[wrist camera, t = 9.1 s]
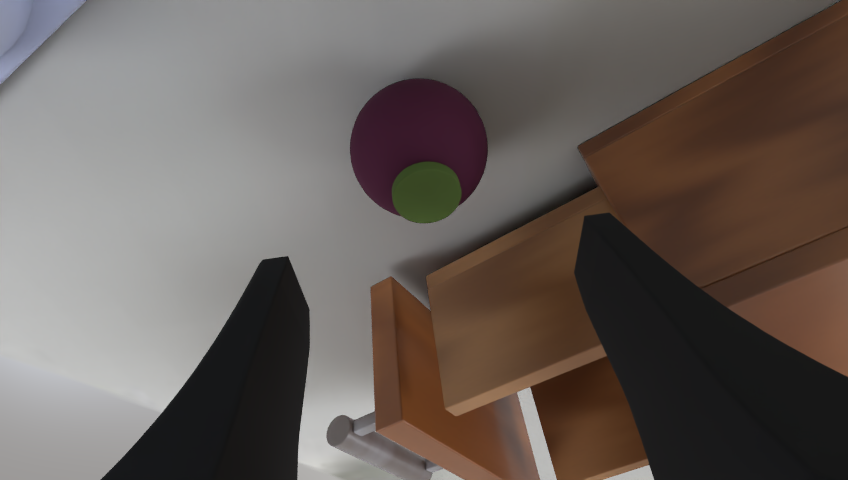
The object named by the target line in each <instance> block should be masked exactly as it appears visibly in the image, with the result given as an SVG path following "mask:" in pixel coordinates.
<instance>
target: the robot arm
mask: <svg viewBox="0 0 848 480" xmlns="http://www.w3.org/2000/svg"><path fill="white" fill-rule="evenodd" d="M85 1H86V0H0V85H1V84H2V83H3V82H4V81H5V80H6V79H7V78H8V77H9V76H10V75H11V74H12V73H13V72H14V71H15V70H16V69H17V68H18V67H19V66H20V65H21V64H22V63H23V62H24V61H25V60H26V59H27V58H28V57H29V56H30V55H31V54H32V53H33V52H34V51H35V50H36V49H37V48H38V47H39V46H40V45H41V44H42V43H43V42H44V41H45V40H46V39H47V38H49V37H50V36H51V35H52V34H53V33H54V32H55V31H56V30H57V29H58V28H59V27H60V26H61V25H62V24H63V23H64V22H65V21H66V20H67V19H68V18H69V17H70V16H71V15H72V14H73V13H74V12H75V11H76V10H77V9H78V8H79V7H80V6H81V5H82V4H83V3H84V2H85ZM574 275H575V278H576V281H577V285H578V288H579V291H580V294H581V297H582V300H583V303H584V306H585V309H586V312H587V314H588V316H589V318H590V320H591V323H592V325H593V327H594V329H595V331H596V333H597V336H598V338H599V340H600V342H601V344H602V346H603V348H604V351H605V353H606V355H607V357H608V359H609V361H610V363H611V365H612V368H613V370H614V372H615V374H616V376H617V378H618V380H619V382H620V385H621V387H622V389H623V391H624V394H625V396H626V399H627V401H628V403H629V406H630V409H631V412H632V415H633V418H634V420H635V423H636V426H637V429H638V432H639V435H640V438H641V440H642V443H643V446H644V450H645V453H646V456H647V459H648V462H649V465H650V468H651V471H652V474H653V477H654V480H848V377H847V376H845V375H843V374H841V373H839V372H837V371H835V370H833V369H831V368H829V367H827V366H825V365H823V364H821V363H819V362H818V361H816V360H814V359H812V358H810V357H808V356H807V355H805V354H803V353H801V352H799V351H797V350H796V349H794V348H792V347H790V346H788V345H787V344H785V343H783V342H781V341H780V340H778V339H776V338H774V337H773V336H771V335H769V334H768V333H766V332H764V331H763V330H761V329H760V328H758V327H756V326H755V325H753V324H752V323H750V322H749V321H747V320H745V319H744V318H742V317H741V316H739V315H738V314H736V313H734V312H733V311H732V310H730V309H729V308H727V307H726V306H724V305H723V304H721V303H720V302H718V301H717V300H716V299H714V298H713V297H712V296H710V295H709V294H707V293H706V292H705V291H703V290H702V289H701V288H699V287H698V286H696V285H695V284H694V283H693V282H691V281H690V280H689V279H687V278H686V277H685V276H684V275H682V274H681V273H680V272H679V271H677V270H676V269H675V268H674V267H672V266H671V265H670V264H669V263H667V262H666V261H665V260H664V259H663V258H661V257H660V256H659V255H658V254H657V253H655V252H654V251H653V250H652V249H651V248H650V247H648V246H647V245H646V244H645V243H644V242H643V241H642V240H640V239H639V238H638V237H637V236H636V235H635V234H634V233H632V232H631V231H630V230H629V229H628V228H627V227H626V226H624V225H623V224H622V223H621V222H620V221H619V220H617V219H616V218H615V217H614V216H613V215H612V214H611V213H602V214H594V215H587V216H584V220H583V226H582V231H581V237H580V242H579V248H578V253H577V259H576V264H575V269H574ZM309 348H310V320H309V307H308V305H307V302H306V300H305V297H304V295H303V292H302V290H301V287H300V285H299V282H298V280H297V277H296V275H295V272H294V270H293V267H292V265H291V263H290V260H289V258H288V256H287V257H279V258H272V259H265V260H262V261H261V263H260V264H259V266H258V268H257V269H256V271H255V273H254V275H253V277H252V279H251V280H250V282H249V284H248V286H247V288H246V289H245V291H244V293H243V295H242V297H241V298H240V300H239V302H238V303H237V305H236V307H235V309H234V310H233V312H232V314H231V315H230V317H229V319H228V320H227V322H226V323H225V325H224V327H223V328H222V330H221V332H220V333H219V335H218V337H217V338H216V340H215V341H214V343H213V344H212V346H211V347H210V349H209V350H208V352H207V353H206V354H205V356H204V357H203V359H202V360H201V362H200V363H199V365H198V366H197V368H196V369H195V371H194V372H193V373H192V375H191V376H190V378H189V379H188V380H187V382H186V383H185V384H184V386H183V387H182V388H181V390H180V391H179V392H178V394H177V395H176V396H175V397H174V399H173V400H172V401H171V402H170V404H169V405H168V406H167V407H166V409H165V410H164V411H163V412H162V414H161V415H160V416H159V417H158V418H157V419H156V421H155V422H154V423H153V424H152V425H151V426H150V428H149V429H148V430H147V431H146V432H145V433H144V435H143V436H142V437H141V438H140V439H139V440H138V441H137V443H136V444H135V445H134V446H133V447H132V448H131V449H130V450H129V451H128V452H127V453H126V454H125V456H124V457H123V458H122V459H121V460H120V461H119V462H118V463H117V464H116V465H115V466H114V467H113V468H112V469H111V470H110V471H109V472H108V473H107V474H106V475H105V476H104V477H103V478H102V479H101V480H297V467H298V443H299V431H300V423H301V415H302V407H303V399H304V391H305V383H306V374H307V366H308V357H309Z"/></svg>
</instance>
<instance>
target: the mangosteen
mask: <svg viewBox="0 0 848 480" xmlns="http://www.w3.org/2000/svg"><path fill="white" fill-rule="evenodd" d="M350 154H351V163H352V167H353V170H354V173H355V176H356V178H357V180H358V182H359V184H360V185H361V187H362V188H363V190H364V191H365V193H366V194H367V195H368V196H369V197H370V198H371V199H372V200H373V201H374V202H375V203H376V204H378V205H379V206H380V207H382V208H383V209H385V210H387V211H389V212H391V213H393V214H396V215H399V216H402V217H404V218H405V219H407V220H409V221H412V222H416V223H432V222H436V221H439V220H442V219H444V218H446V217H447V216H449V215H450V214H451V213H452V212H453V211H454V210H455V209H456V208H457V207H458V206H459V205H460V204H462V203H463V202H464V201H465V200H466V199H467V198H468V197H469V196H470V195H471V194H472V193H473V191H474V190H475V189H476V187H477V185H478V184H479V182H480V180H481V178H482V175H483V173H484V170H485V166H486V162H487V155H488V143H487V136H486V131H485V127H484V125H483V122H482V120H481V118H480V116H479V114H478V112H477V110H476V109H475V107H474V106H473V105H472V104H471V102H470V101H469V100H468V99H467V98H466V97H465V96H464V95H463V94H461V93H460V92H459V91H457V90H456V89H454V88H452V87H450V86H448V85H447V84H444V83H441V82H439V81H435V80H430V79H409V80H403V81H400V82H396V83H394V84H391V85H389V86H387V87H385V88H384V89H382V90H380V91H379V92H378V93H376V94H375V95H374V96H373V97H372V98H371V99H370V100H369V101H368V102H367V103H366V104H365V106H364V107H363V108H362V110H361V111H360V113H359V115H358V117H357V119H356V121H355V124H354V127H353V130H352V135H351V141H350Z"/></svg>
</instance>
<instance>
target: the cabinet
mask: <svg viewBox="0 0 848 480" xmlns="http://www.w3.org/2000/svg"><path fill="white" fill-rule="evenodd" d="M578 149H579V151H580V153H581V155H582V157H583V159H584V161H585V163H586V165H587V167H588V169H589V171H590V173H591V175H592V176H593V178H594V180H595V182H596V184H597V186H598V187H599V186H600V188H601V189H602V191H603V193H604V195H605V196H606V198H607V200H608V201H609V203H610V205H611V206H612V208H613V210H614V211H615V213H616V215H617V217H618V218H619V220H620V222H621V223H622V224H623V225H624V226H626V227H627V228H628V229H629V230H630V231H631V232H632V233H634V234H635V235H636V236H637V237H638V238H639V239H640V240H642V241H643V242H644V243H645V244H646V245H647V246H648V247H650V248H651V249H652V250H653V251H654V252H655V253H657V254H658V255H659V256H660V257H661V258H663V259H664V260H665V261H666V262H667V263H669V264H670V265H671V266H672V267H674V268H675V269H676V270H677V271H679V272H680V273H681V274H682V275H684V276H685V277H686V278H687V279H689V280H690V281H691V282H693V283H694V284H695V285H696V286H698V287H699V288H701V289H702V290H703V291H705V292H706V293H707V294H709V295H710V296H712V297H713V298H714V299H716V300H717V301H718V302H720V303H721V304H723V305H724V306H726V307H727V308H729V309H730V310H732V311H733V312H734V313H736V314H738V315H739V316H741V317H742V318H744V319H745V320H747V321H749V322H750V323H752V324H753V325H755V326H756V327H758V328H760V329H761V330H763V331H764V332H766V333H768V334H769V335H771V336H773V337H774V338H776V339H778V340H780V341H781V342H783V343H785V344H787V345H788V346H790V347H792V348H794V349H796V350H797V351H799V352H801V353H803V354H805V355H807V356H808V357H810V358H812V359H814V360H816V361H818V362H819V363H821V364H823V365H825V366H827V367H829V368H831V369H833V370H835V371H837V372H839V373H841V374H843V375H845V376H847V377H848V0H841V1H840V2H838V3H836V4H834V5H832V6H831V7H829V8H827V9H825V10H823V11H822V12H820V13H818V14H816V15H814V16H812V17H811V18H809V19H807V20H805V21H803V22H802V23H800V24H798V25H796V26H794V27H793V28H791V29H789V30H787V31H785V32H784V33H782V34H780V35H778V36H776V37H774V38H773V39H771V40H769V41H767V42H765V43H764V44H762V45H760V46H758V47H756V48H755V49H753V50H751V51H749V52H747V53H746V54H744V55H742V56H740V57H738V58H736V59H735V60H733V61H731V62H729V63H727V64H726V65H724V66H722V67H720V68H718V69H717V70H715V71H713V72H711V73H709V74H708V75H706V76H704V77H702V78H700V79H698V80H697V81H695V82H693V83H691V84H689V85H688V86H686V87H684V88H682V89H680V90H679V91H677V92H675V93H673V94H671V95H670V96H668V97H666V98H664V99H662V100H660V101H659V102H657V103H655V104H653V105H651V106H650V107H648V108H646V109H644V110H642V111H641V112H639V113H637V114H635V115H633V116H632V117H630V118H628V119H626V120H624V121H622V122H621V123H619V124H617V125H615V126H613V127H612V128H610V129H608V130H606V131H604V132H603V133H601V134H599V135H597V136H595V137H594V138H592V139H590V140H588V141H586V142H584V143H583V144H581V145H579V146H578Z"/></svg>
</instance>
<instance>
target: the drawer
mask: <svg viewBox="0 0 848 480" xmlns="http://www.w3.org/2000/svg"><path fill="white" fill-rule="evenodd" d="M602 213H611V214H612V215H613V216H614V217H615V218H616V219H617V220H619V218H618V217H617V215H616V213H615V211H614V210H613V208H612V206H611V205H610V203H609V201H608V200H607V198H606V196H605V195H604V193H603V191H602V189H601V188H600V186H599V187H597V188H595V189H593V190H591V191H589V192H587V193H585V194H583V195H581V196H580V197H578V198H576V199H574V200H572V201H570V202H568V203H566V204H564V205H562V206H560V207H558V208H556V209H554V210H552V211H551V212H549V213H547V214H545V215H543V216H541V217H539V218H537V219H535V220H533V221H531V222H529V223H527V224H525V225H524V226H522V227H520V228H518V229H516V230H514V231H512V232H510V233H508V234H506V235H504V236H502V237H500V238H498V239H496V240H495V241H493V242H491V243H489V244H487V245H485V246H483V247H481V248H479V249H477V250H475V251H473V252H471V253H469V254H468V255H466V256H464V257H462V258H460V259H458V260H456V261H454V262H452V263H450V264H448V265H446V266H444V267H442V268H440V269H439V270H437V271H435V272H433V273H431V274H429V275H427V276H426V281H427V288H428V296H429V303H430V309H431V311H430V310H429V309H428V308H427V307H426V306H424V305H423V304H422V303H421V302H420V301H419V300H418V299H417V298H415V297H414V296H413V295H412V294H411V293H410V292H409V291H408V290H406V289H405V288H404V287H403V286H402V285H401V284H400V283H399V282H398V281H396V280H395V279H394V278H393V277H392V276H390V277H388V278H387V279H385V280H383V281H381V282H379V283H377V284H375V285H373V286H372V287H371V315H372V343H373V371H374V399H375V411H374V412H372V413H370V414H367V415H365V416H363V417H361V418H358V419H356V420H353V419H351V418H349V417H347V416H345V415H340V416H338V417H336V418H335V419H334V420H333V421H332V422H331V423H330V425H329V427H328V430H327V441H328V443H329V444H330V445H331V446H333V447H335V448H337V449H339V450H341V451H343V452H346V453H348V454H350V455H352V456H354V457H356V458H358V459H361V460H363V461H365V462H367V463H369V464H371V465H373V466H376V467H378V468H380V469H382V470H384V471H386V472H388V473H390V474H393V475H395V476H397V477H399V478H401V479H403V480H430V479H431V477H432V472H435V471H438V470H441V469H443V468H444V469H446V470H448V471H449V472H451V473H453V474H455V475H457V476H459V477H460V478H462V479H464V480H540V478H539V474H538V470H537V467H536V463H535V459H534V455H533V451H532V448H531V444H530V440H529V436H528V433H527V429H526V425H525V421H524V417H523V414H522V410H521V406H520V402H519V398H518V395H517V392H518V391H521V390H523V389H526V388H528V387H530V388H531V391H532V394H533V398H534V401H535V405H536V408H537V412H538V415H539V419H540V422H541V426H542V429H543V433H544V436H545V440H546V443H547V447H548V450H549V454H550V457H551V461H552V464H553V467H554V471H555V474H556V478H557V480H603V479H606V478H609V477H612V476H615V475H619V474H622V473H625V472H628V471H631V470H634V469H637V468H640V467H644V466H647V465H649V462H648V459H647V456H646V453H645V450H644V446H643V443H642V440H641V438H640V435H639V432H638V429H637V426H636V423H635V420H634V418H633V415H632V412H631V409H630V406H629V403H628V401H627V399H626V396H625V394H624V391H623V389H622V387H621V385H620V382H619V380H618V378H617V376H616V374H615V372H614V370H613V368H612V365H611V363H610V361H609V359H608V357H607V355H606V353H605V351H604V348H603V346H602V344H601V342H600V340H599V338H598V336H597V333H596V331H595V329H594V327H593V325H592V323H591V320H590V318H589V316H588V314H587V312H586V309H585V306H584V303H583V300H582V297H581V294H580V291H579V288H578V285H577V281H576V278H575V275H574V269H575V264H576V259H577V253H578V248H579V242H580V237H581V231H582V226H583V220H584V216H587V215H594V214H602ZM619 221H620V220H619ZM375 431H376V432H375ZM384 436H385V437H384ZM397 443H398V444H397ZM410 450H411V451H410ZM421 456H422V457H421Z"/></svg>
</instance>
